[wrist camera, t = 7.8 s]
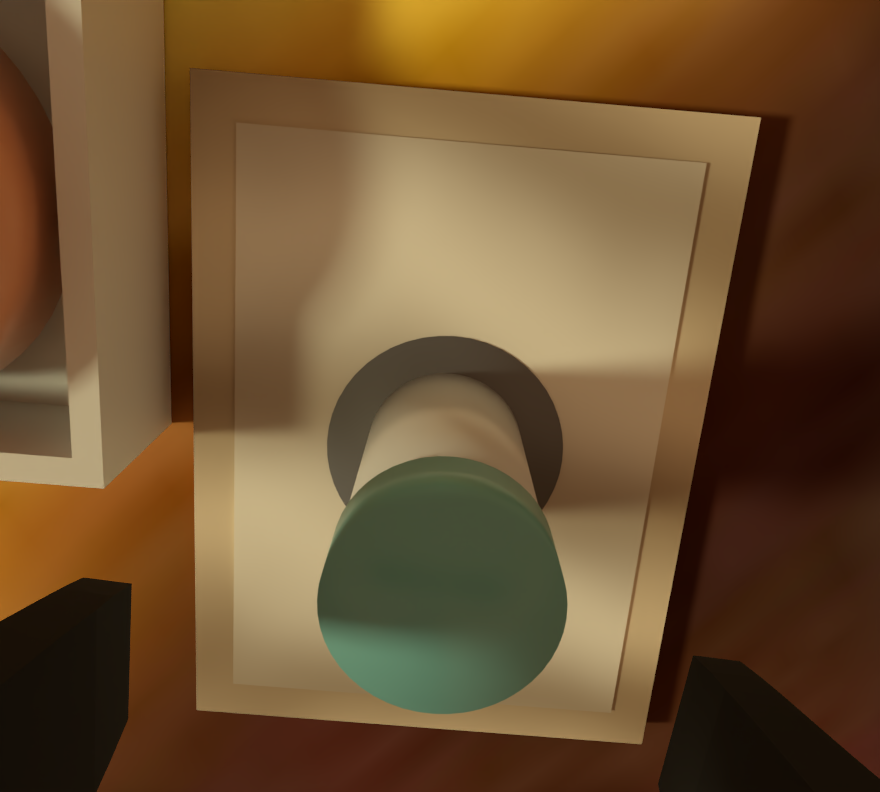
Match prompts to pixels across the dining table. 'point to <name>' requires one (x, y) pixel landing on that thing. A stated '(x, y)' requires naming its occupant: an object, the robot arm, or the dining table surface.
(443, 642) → the jar with green lid
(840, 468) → the dining table surface
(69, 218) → the open square beige box
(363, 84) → the board
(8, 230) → the orange dome
